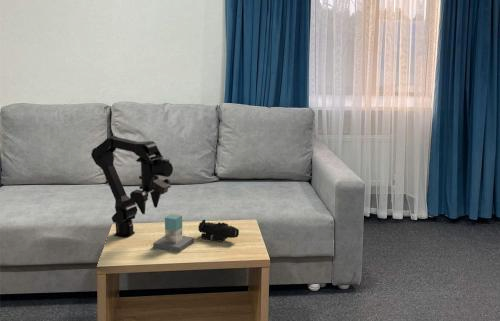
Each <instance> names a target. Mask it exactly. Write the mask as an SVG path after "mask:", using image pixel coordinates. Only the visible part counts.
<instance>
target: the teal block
mask: <svg viewBox="0 0 500 321" xmlns="http://www.w3.org/2000/svg"><path fill="white" fill-rule="evenodd" d="M181 228H182V229H183V215H180V214H174V213H170V214H168V215H167V216H165V217H164V231H165V230H171V231H177V230H179V229H181Z"/></svg>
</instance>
